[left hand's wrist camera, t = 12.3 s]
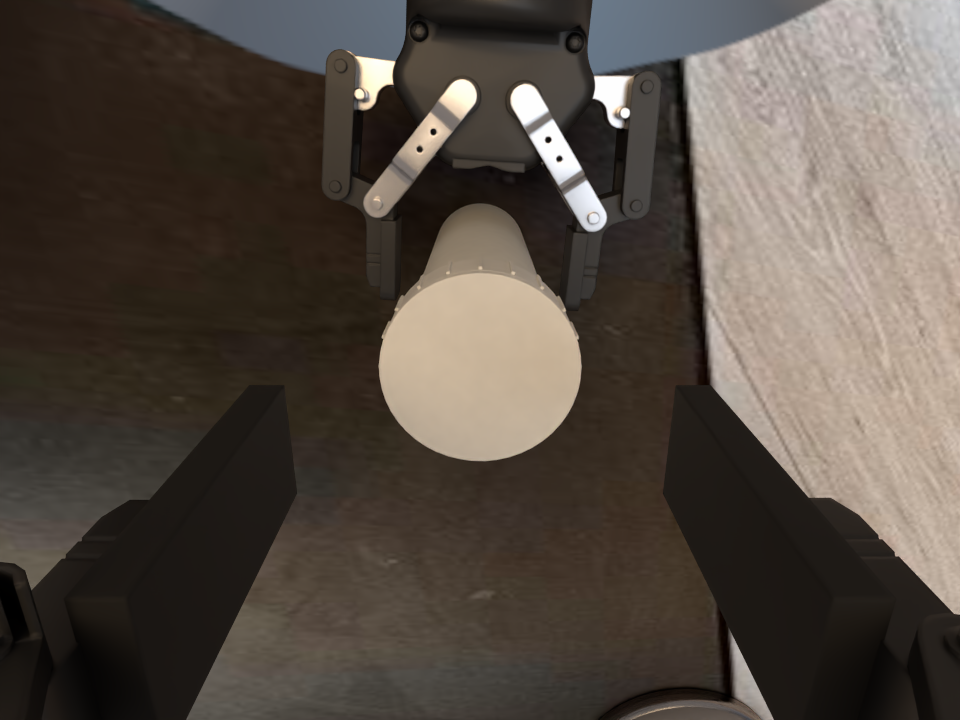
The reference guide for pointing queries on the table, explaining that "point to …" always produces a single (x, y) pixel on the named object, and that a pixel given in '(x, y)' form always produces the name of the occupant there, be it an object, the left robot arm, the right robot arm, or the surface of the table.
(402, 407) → the lid
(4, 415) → the table surface
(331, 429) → the table surface
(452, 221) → the jar
